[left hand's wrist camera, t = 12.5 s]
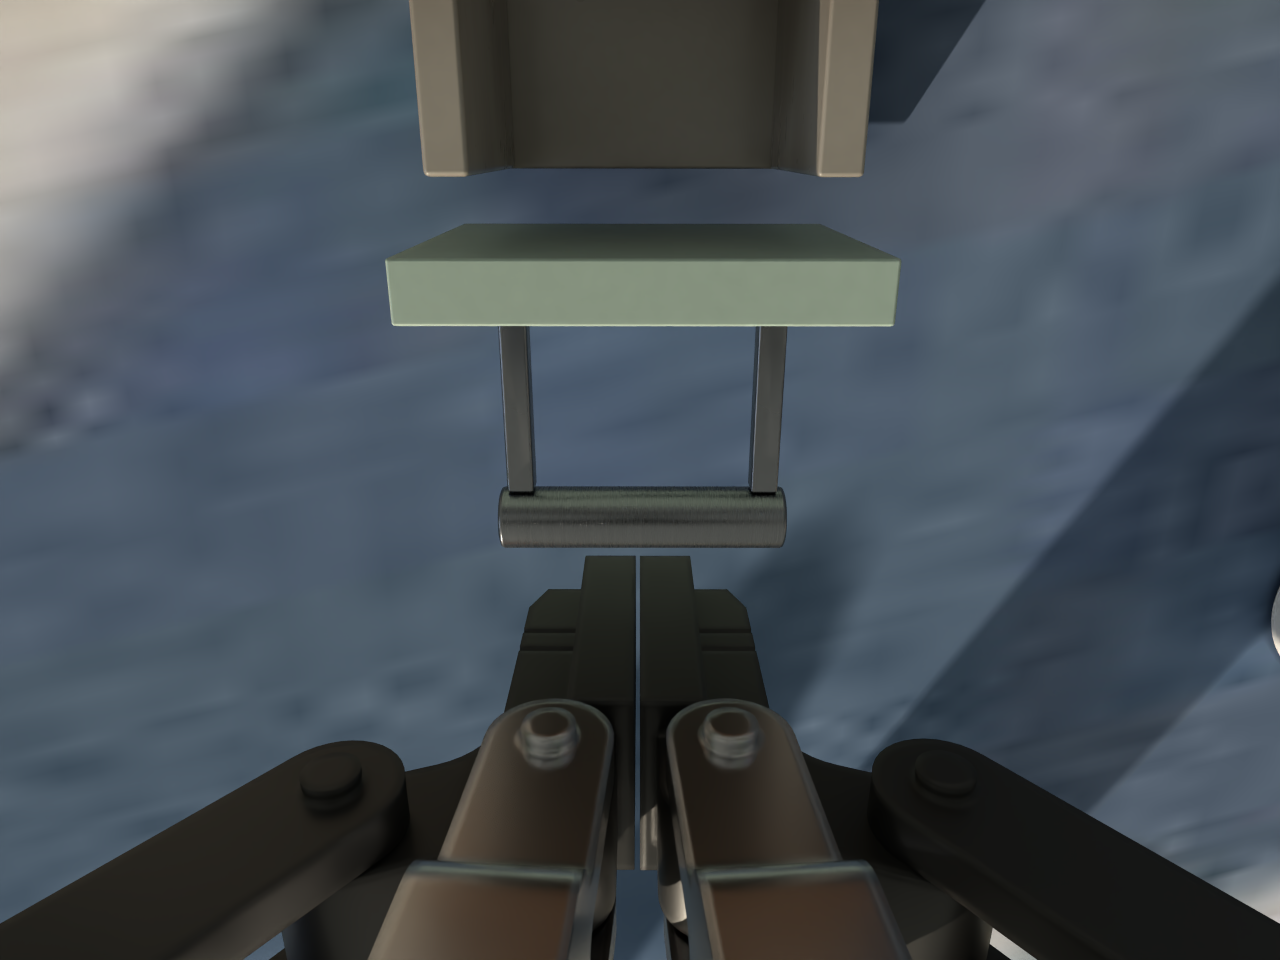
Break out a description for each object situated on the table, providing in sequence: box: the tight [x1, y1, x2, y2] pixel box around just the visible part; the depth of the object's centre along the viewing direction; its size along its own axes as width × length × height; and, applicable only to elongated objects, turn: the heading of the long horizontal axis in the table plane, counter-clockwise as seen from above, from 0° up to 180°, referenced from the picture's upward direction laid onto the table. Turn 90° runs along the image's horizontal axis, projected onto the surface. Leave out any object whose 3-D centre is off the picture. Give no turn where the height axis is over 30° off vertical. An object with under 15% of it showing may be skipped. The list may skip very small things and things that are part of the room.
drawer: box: [385, 0, 901, 548], centre depth 17 cm, size 20×9×7 cm, turn 0°
